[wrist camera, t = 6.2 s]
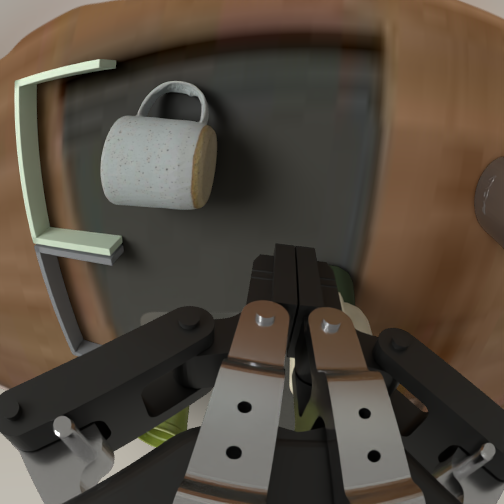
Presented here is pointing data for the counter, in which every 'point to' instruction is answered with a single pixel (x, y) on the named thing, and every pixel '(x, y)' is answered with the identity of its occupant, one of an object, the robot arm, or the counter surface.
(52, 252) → the corral charcoal
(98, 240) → the corral green
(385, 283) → the counter surface
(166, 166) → the ceramic mug
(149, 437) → the plant pot
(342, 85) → the counter surface
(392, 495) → the robot arm
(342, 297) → the character mug
